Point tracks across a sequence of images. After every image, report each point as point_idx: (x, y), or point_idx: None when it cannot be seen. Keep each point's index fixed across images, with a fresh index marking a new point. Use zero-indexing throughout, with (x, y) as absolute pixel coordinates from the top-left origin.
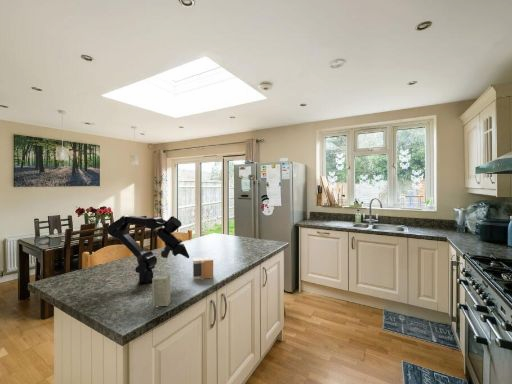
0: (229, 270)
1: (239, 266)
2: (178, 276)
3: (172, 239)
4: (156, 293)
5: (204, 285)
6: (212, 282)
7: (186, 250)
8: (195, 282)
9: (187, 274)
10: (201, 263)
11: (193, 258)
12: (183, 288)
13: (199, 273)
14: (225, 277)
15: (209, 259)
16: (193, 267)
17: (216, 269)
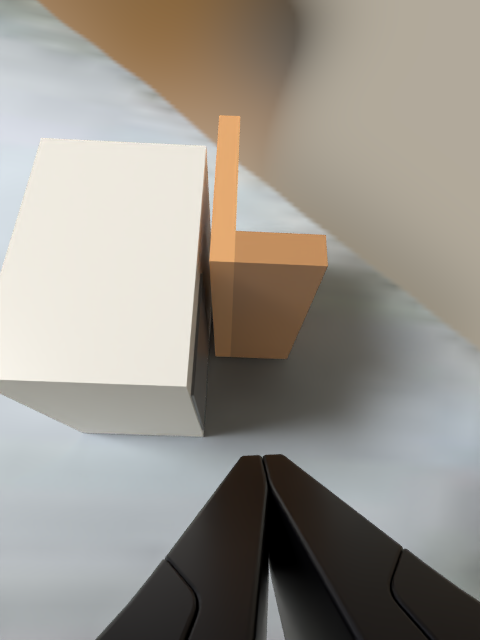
0: (91, 119)
1: (32, 47)
2: (23, 623)
3: None
4: None
5: (389, 348)
6: (332, 277)
7: (461, 592)
8: (295, 421)
9: (5, 495)
10: (301, 274)
11: (1, 370)
12: (437, 560)
13: (206, 356)
14: (245, 173)
15: (186, 150)
16: (195, 409)
17: (7, 199)
